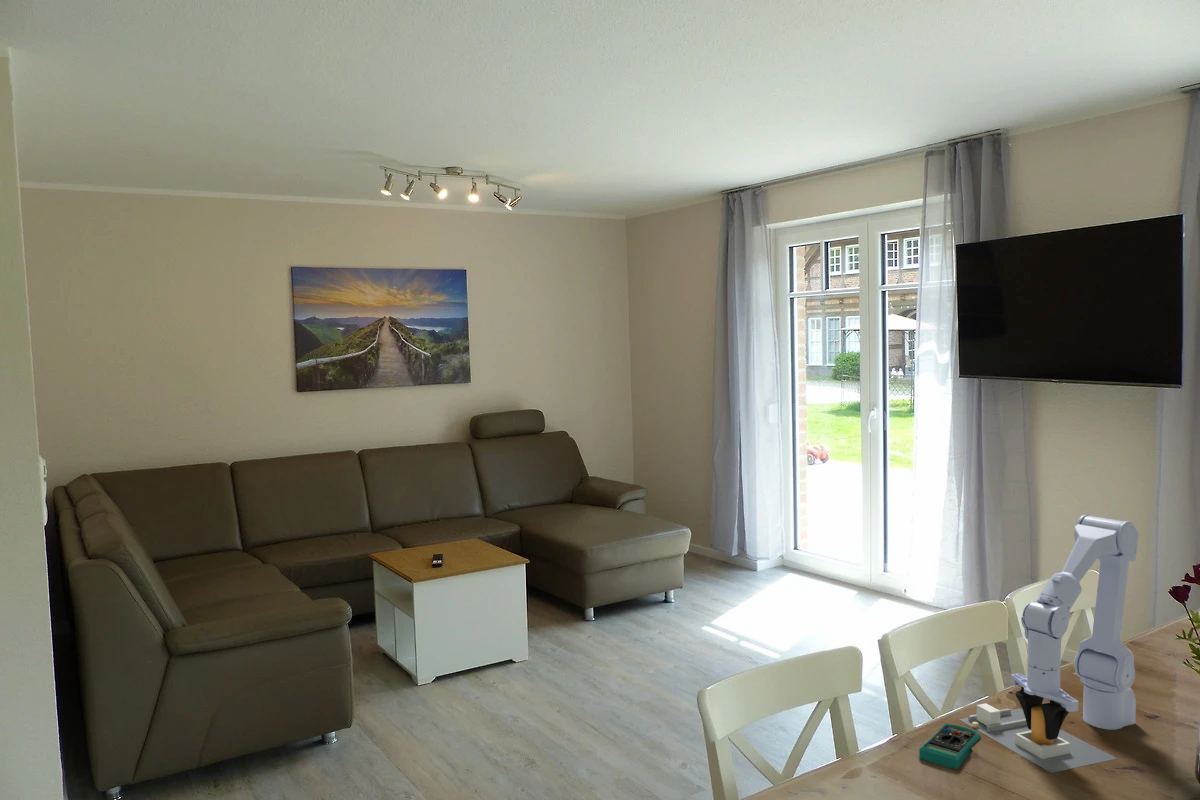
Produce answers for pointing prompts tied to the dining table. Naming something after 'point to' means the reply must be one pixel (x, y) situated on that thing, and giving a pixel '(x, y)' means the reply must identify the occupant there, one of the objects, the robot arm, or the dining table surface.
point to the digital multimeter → (949, 746)
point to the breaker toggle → (987, 714)
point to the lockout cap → (1039, 727)
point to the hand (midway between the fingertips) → (1042, 733)
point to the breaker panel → (1049, 757)
